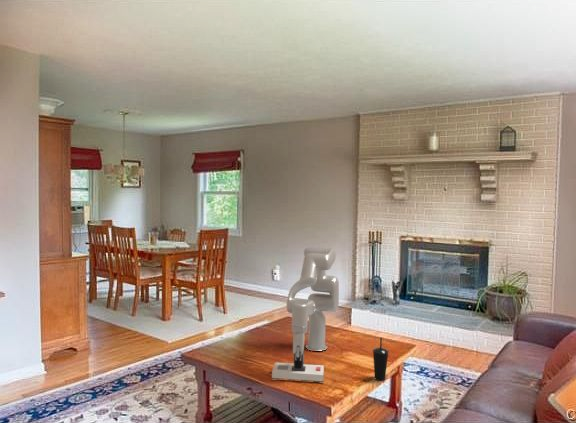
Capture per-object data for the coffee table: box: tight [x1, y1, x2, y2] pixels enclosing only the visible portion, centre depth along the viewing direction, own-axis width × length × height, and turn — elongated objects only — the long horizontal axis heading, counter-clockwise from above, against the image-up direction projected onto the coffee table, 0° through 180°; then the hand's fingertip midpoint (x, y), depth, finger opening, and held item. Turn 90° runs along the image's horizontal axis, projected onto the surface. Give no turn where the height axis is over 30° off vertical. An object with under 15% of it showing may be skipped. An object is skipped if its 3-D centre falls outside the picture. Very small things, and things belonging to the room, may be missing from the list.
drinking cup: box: [372, 336, 390, 382], centre depth 218 cm, size 8×8×20 cm
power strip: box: [271, 362, 325, 383], centre depth 218 cm, size 12×24×5 cm, turn 84°
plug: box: [293, 350, 305, 371], centre depth 218 cm, size 4×4×9 cm
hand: (298, 365), depth 218 cm, fingers closed on plug, 4 cm apart
